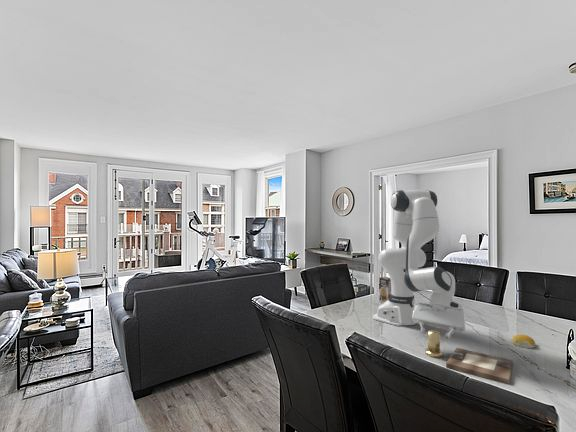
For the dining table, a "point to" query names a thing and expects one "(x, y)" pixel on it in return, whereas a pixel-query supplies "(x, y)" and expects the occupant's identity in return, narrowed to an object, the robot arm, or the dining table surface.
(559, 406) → the dining table surface
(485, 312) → the dining table surface
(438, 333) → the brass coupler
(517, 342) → the bread roll
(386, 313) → the robot arm
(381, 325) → the dining table surface
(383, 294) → the coffee box
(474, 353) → the board
